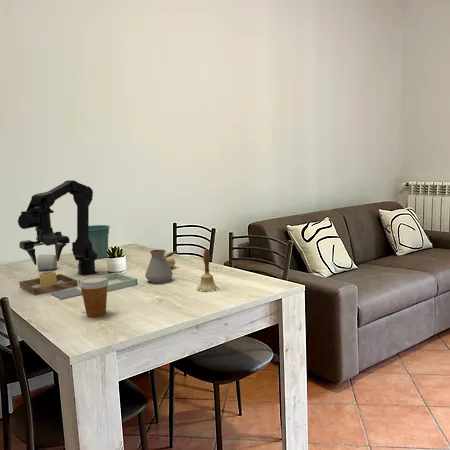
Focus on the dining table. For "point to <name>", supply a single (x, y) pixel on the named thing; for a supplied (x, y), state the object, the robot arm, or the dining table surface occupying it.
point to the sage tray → (125, 282)
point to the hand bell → (207, 275)
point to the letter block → (47, 278)
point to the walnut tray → (36, 291)
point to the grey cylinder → (47, 262)
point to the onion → (170, 261)
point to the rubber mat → (67, 293)
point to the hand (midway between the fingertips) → (46, 262)
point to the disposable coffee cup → (94, 295)
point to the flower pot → (99, 239)
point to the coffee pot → (159, 267)
